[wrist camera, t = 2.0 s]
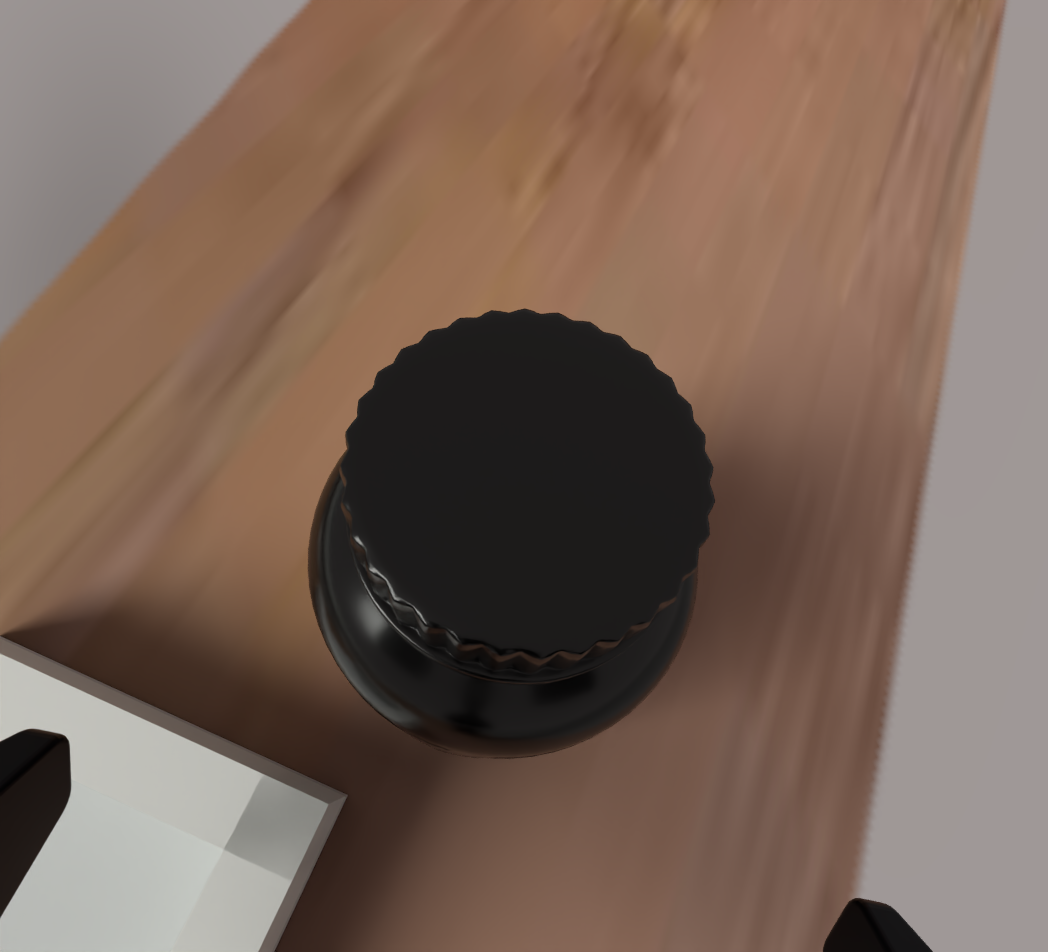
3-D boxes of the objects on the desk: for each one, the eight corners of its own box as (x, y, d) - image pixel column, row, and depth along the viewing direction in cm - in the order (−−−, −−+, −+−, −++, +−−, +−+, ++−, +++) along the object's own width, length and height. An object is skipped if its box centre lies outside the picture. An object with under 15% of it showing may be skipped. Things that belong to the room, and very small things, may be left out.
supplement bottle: (545, 484, 22) (665, 199, 11) (638, 699, 20) (908, 626, 8) (325, 558, 20) (194, 312, 9) (402, 802, 18) (353, 879, 7)
